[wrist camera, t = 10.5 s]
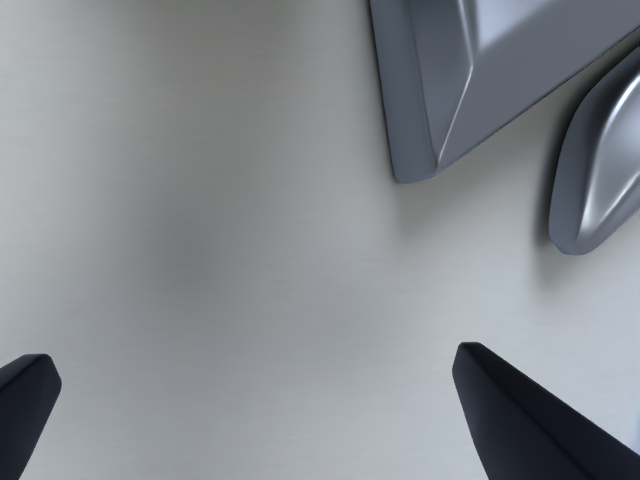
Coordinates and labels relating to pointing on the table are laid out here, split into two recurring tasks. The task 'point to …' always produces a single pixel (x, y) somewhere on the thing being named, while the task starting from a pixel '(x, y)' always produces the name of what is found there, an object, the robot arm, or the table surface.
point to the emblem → (515, 96)
